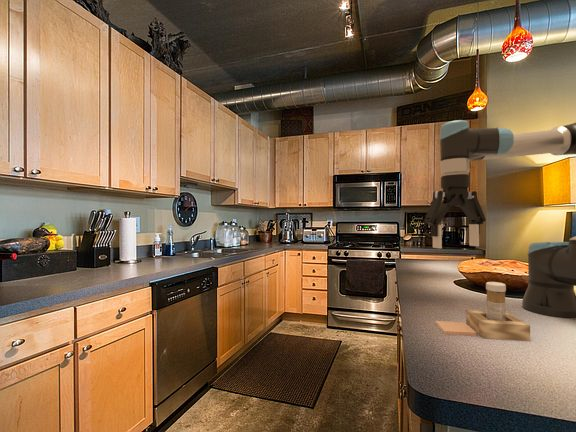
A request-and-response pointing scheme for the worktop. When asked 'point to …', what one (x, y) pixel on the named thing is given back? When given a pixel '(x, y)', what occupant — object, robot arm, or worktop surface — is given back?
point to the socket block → (498, 326)
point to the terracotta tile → (455, 328)
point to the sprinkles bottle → (496, 301)
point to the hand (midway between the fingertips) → (456, 247)
